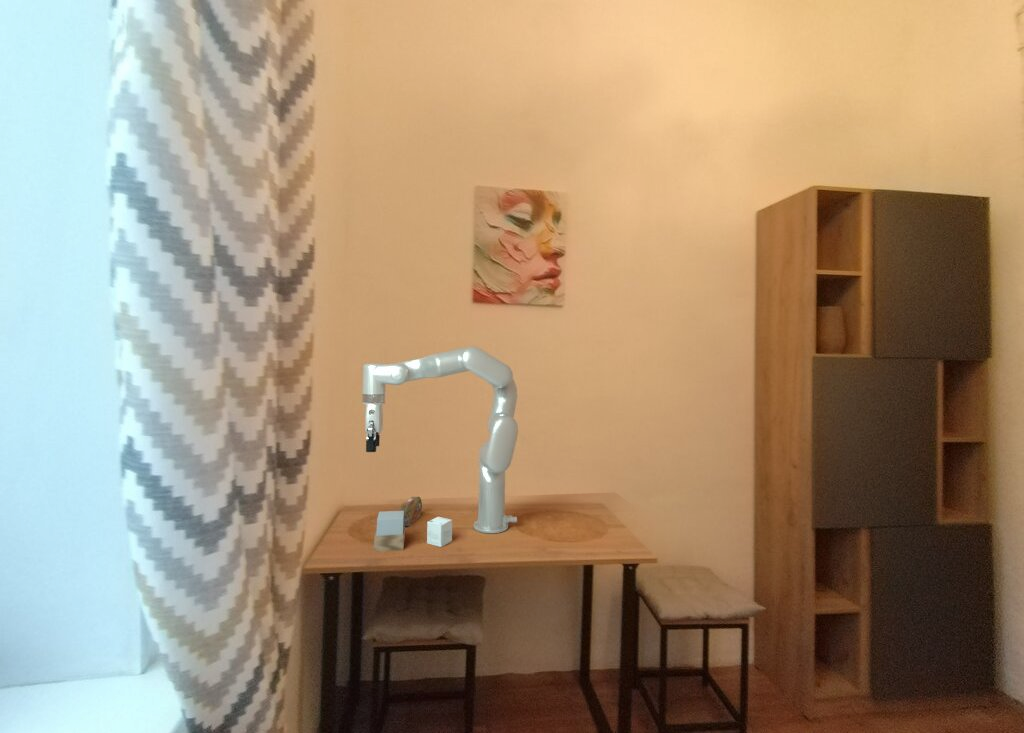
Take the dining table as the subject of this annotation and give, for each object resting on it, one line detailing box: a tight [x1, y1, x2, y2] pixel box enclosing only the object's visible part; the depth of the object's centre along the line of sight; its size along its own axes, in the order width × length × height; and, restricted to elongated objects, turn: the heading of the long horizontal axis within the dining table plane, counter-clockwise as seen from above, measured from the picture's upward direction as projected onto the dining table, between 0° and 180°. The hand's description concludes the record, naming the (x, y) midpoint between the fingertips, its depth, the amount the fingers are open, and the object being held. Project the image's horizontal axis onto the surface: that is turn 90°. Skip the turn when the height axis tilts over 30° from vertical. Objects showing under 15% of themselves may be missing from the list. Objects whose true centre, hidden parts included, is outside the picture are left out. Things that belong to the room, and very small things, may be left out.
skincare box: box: [426, 516, 453, 548], centre depth 148 cm, size 6×6×7 cm
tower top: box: [376, 510, 404, 536], centre depth 145 cm, size 8×8×5 cm
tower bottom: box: [373, 525, 406, 552], centre depth 145 cm, size 9×9×5 cm
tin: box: [399, 496, 423, 527], centre depth 166 cm, size 15×3×8 cm, turn 168°
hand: (372, 449), depth 153 cm, fingers open, 9 cm apart
